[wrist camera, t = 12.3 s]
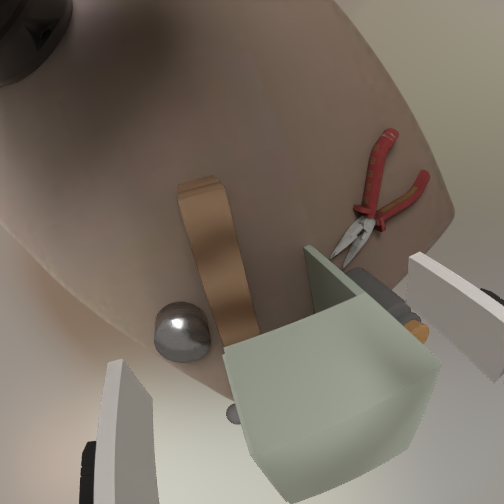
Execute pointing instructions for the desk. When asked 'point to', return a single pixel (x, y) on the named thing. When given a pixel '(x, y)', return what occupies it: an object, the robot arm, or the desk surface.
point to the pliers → (370, 199)
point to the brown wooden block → (218, 258)
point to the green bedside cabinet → (329, 388)
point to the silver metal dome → (181, 332)
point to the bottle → (390, 302)
